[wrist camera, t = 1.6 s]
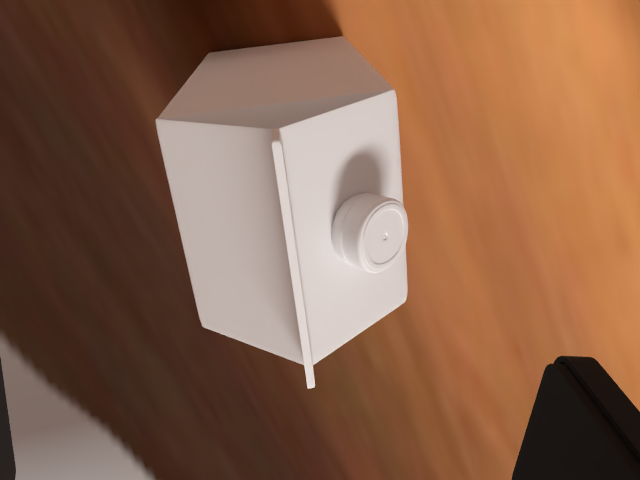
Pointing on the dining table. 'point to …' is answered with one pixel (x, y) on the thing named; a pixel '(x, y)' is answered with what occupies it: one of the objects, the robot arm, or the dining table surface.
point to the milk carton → (289, 195)
